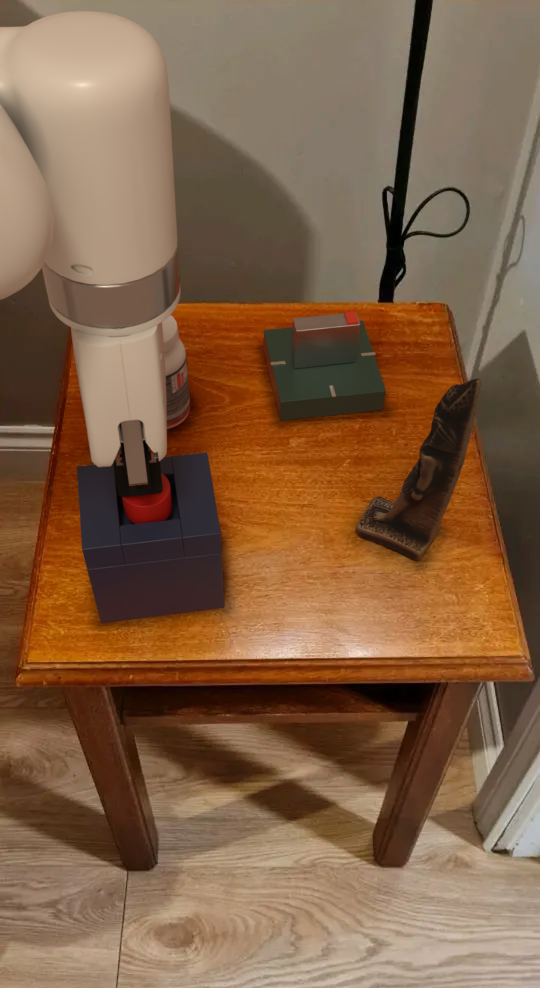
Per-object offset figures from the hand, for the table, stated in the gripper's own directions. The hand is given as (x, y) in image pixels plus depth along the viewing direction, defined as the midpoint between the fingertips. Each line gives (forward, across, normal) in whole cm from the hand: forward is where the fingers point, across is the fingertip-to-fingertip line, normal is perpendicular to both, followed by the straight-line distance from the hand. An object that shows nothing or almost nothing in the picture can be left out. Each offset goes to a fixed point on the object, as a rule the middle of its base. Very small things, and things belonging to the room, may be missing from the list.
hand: (140, 486), depth 66 cm
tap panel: (+11, -21, +19) cm, 30 cm away
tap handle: (+9, -21, +19) cm, 29 cm away
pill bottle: (+12, -19, +3) cm, 23 cm away
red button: (+3, 0, 0) cm, 3 cm away
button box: (+12, 0, +1) cm, 12 cm away
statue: (+11, -1, +22) cm, 24 cm away
